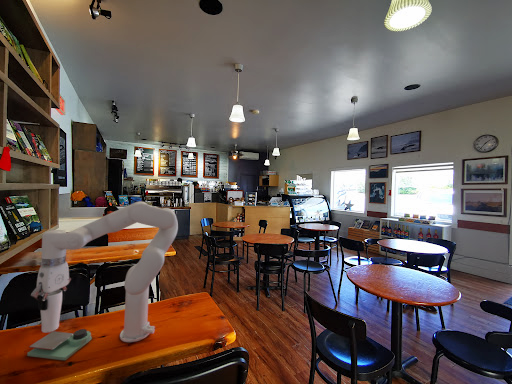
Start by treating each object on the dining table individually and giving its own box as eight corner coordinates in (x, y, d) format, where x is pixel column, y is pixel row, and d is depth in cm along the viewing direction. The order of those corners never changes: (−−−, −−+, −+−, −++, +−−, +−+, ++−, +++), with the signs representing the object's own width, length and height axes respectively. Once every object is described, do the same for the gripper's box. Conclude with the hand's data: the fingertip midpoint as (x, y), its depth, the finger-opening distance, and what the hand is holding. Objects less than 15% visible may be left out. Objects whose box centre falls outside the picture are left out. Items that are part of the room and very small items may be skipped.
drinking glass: (41, 336, 90) (42, 298, 90) (37, 329, 94) (38, 292, 94) (63, 329, 96) (64, 292, 96) (58, 322, 100) (60, 287, 100)
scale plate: (74, 334, 101) (74, 333, 101) (52, 350, 91) (52, 349, 91) (53, 332, 101) (53, 331, 101) (28, 347, 92) (28, 346, 92)
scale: (94, 338, 103) (94, 331, 103) (66, 360, 90) (67, 353, 90) (59, 334, 105) (59, 327, 105) (27, 356, 91) (27, 348, 91)
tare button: (88, 334, 102) (89, 329, 102) (80, 340, 97) (80, 335, 97) (79, 333, 102) (79, 328, 102) (70, 339, 98) (70, 334, 98)
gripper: (40, 269, 86) (38, 317, 86) (80, 256, 103) (78, 296, 103) (22, 267, 86) (20, 315, 87) (64, 254, 104) (62, 294, 104)
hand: (51, 304), depth 95 cm, fingers closed on drinking glass, 6 cm apart
